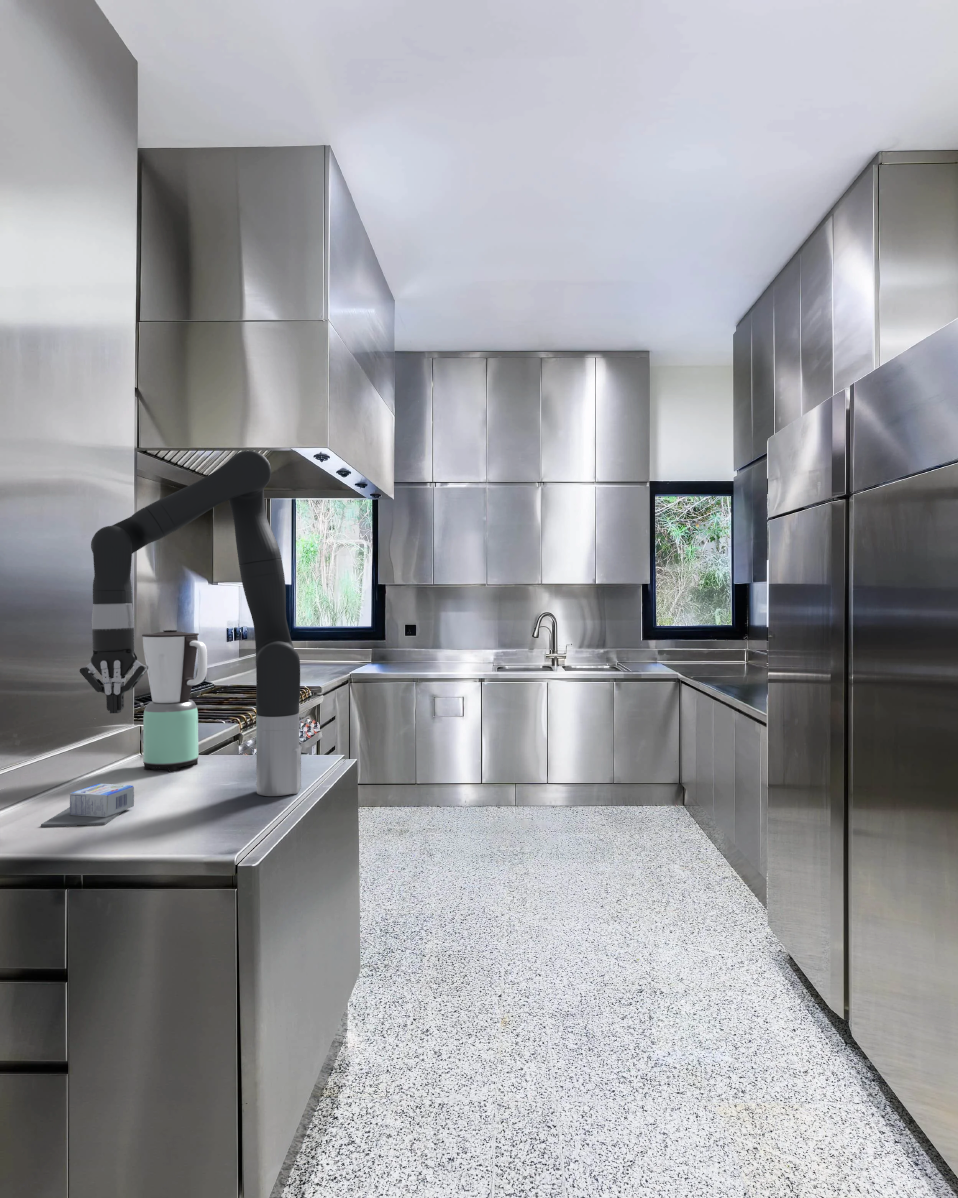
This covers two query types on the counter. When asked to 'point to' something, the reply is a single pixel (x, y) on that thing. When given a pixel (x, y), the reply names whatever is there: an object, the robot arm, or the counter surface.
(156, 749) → the blender
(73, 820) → the mat
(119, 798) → the medicine box
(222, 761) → the counter surface
